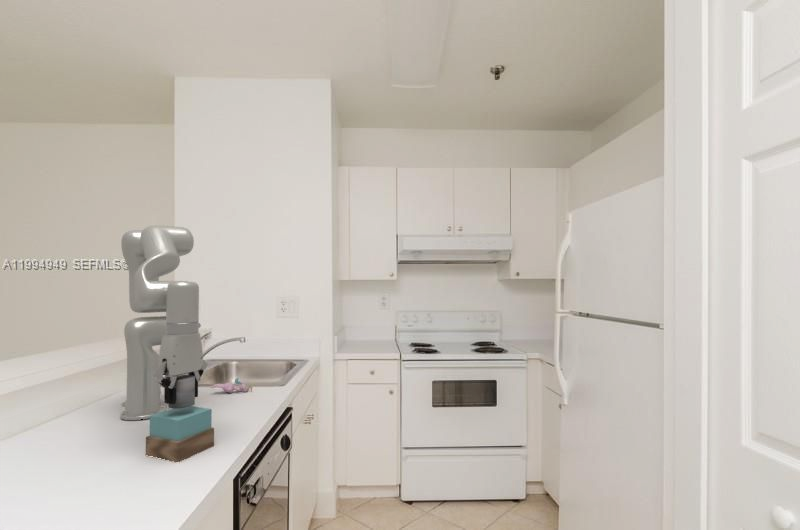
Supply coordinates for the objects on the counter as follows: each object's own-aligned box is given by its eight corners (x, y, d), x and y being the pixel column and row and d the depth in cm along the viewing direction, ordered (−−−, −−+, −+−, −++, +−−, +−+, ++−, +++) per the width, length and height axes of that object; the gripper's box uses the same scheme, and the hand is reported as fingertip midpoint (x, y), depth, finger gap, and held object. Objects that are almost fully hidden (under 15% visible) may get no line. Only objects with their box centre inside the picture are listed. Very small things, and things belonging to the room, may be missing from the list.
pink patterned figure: (251, 392, 170) (211, 389, 165) (254, 377, 170) (214, 374, 166) (251, 396, 164) (209, 393, 159) (253, 381, 164) (212, 377, 160)
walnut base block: (145, 457, 105) (145, 436, 105) (183, 441, 115) (183, 423, 116) (178, 464, 101) (178, 442, 101) (213, 447, 111) (214, 427, 111)
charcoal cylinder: (162, 407, 107) (163, 379, 107) (183, 400, 112) (183, 374, 113) (180, 409, 104) (180, 381, 105) (200, 403, 110) (200, 376, 110)
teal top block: (149, 435, 106) (149, 415, 106) (183, 423, 115) (184, 404, 115) (178, 441, 102) (178, 420, 102) (211, 428, 111) (211, 408, 111)
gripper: (199, 325, 119) (198, 390, 118) (140, 332, 103) (139, 407, 102) (219, 326, 116) (218, 393, 115) (162, 333, 100) (161, 411, 99)
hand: (181, 399), depth 108 cm, fingers closed on charcoal cylinder, 6 cm apart
